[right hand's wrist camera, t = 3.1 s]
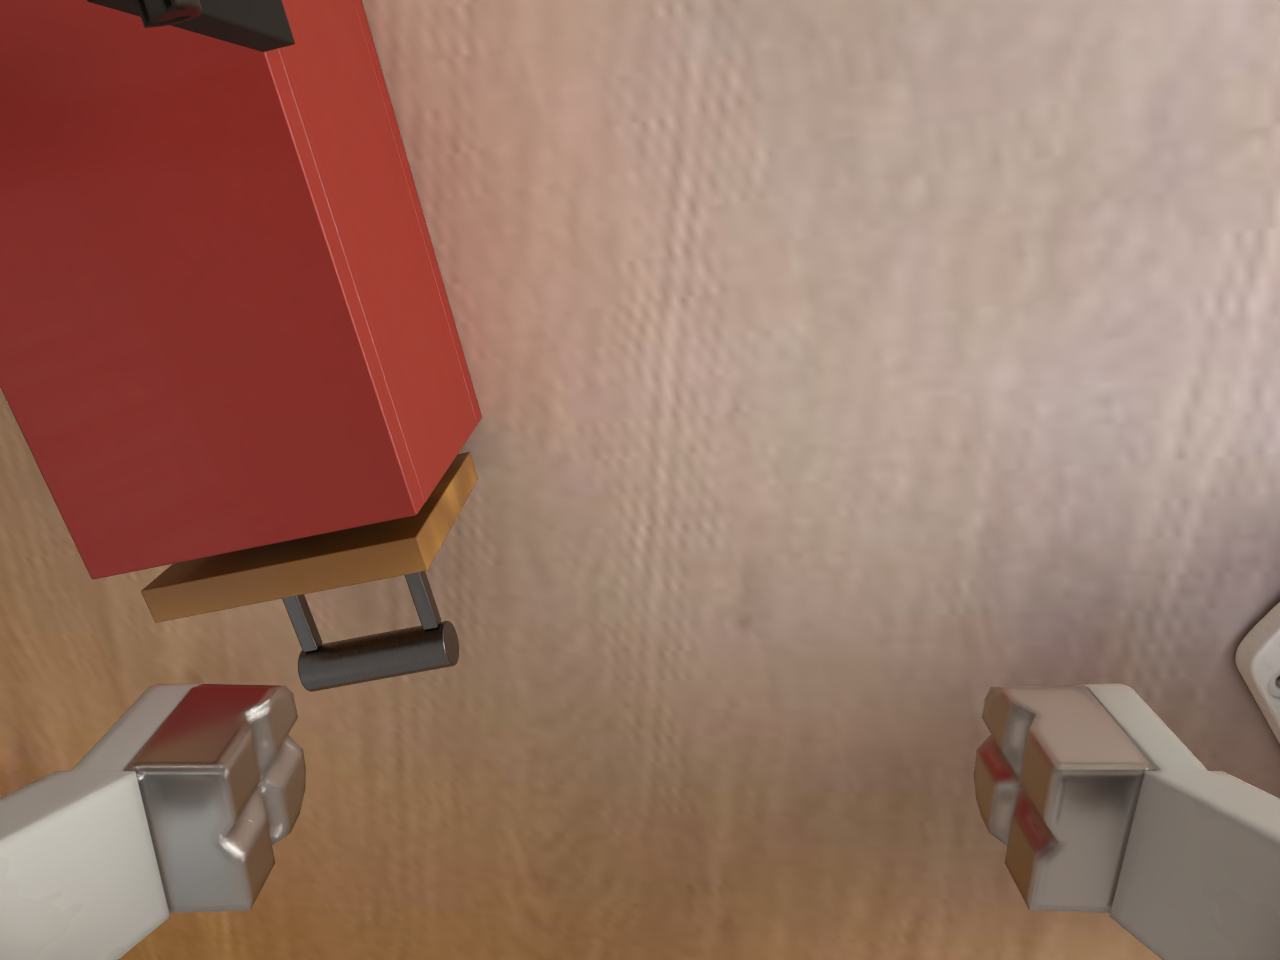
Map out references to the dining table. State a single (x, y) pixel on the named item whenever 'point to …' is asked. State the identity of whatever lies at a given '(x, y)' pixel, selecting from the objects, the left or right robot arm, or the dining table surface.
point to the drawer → (332, 566)
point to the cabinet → (216, 284)
